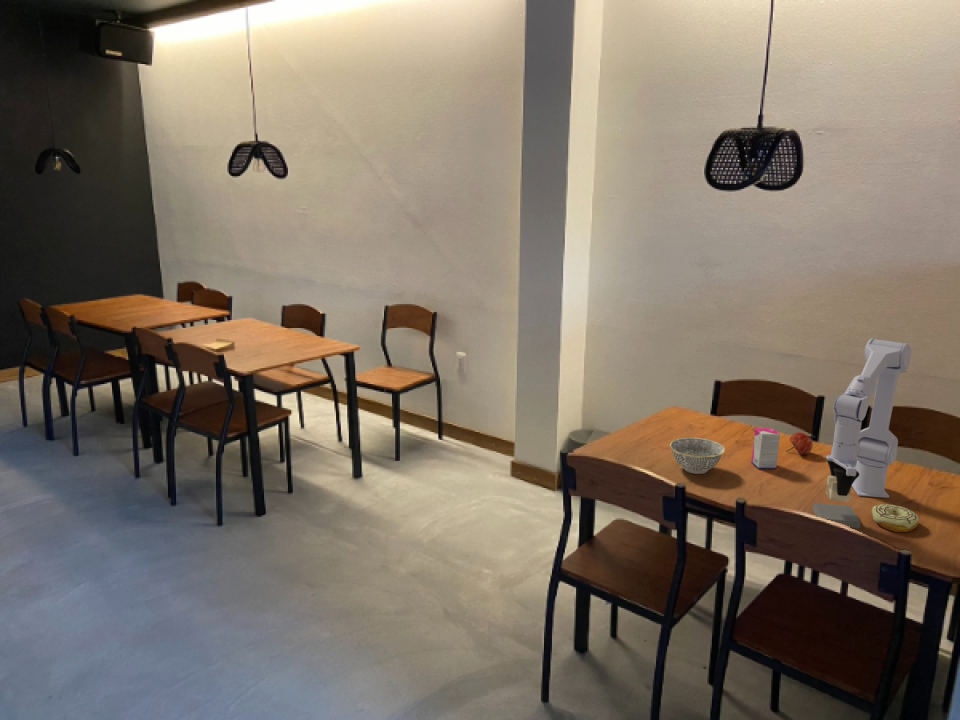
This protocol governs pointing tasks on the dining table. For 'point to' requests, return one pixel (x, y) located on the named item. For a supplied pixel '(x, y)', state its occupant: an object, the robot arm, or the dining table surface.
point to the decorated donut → (895, 517)
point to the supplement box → (765, 448)
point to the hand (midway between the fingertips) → (839, 490)
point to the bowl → (696, 454)
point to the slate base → (837, 514)
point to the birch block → (835, 490)
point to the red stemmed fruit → (801, 443)
